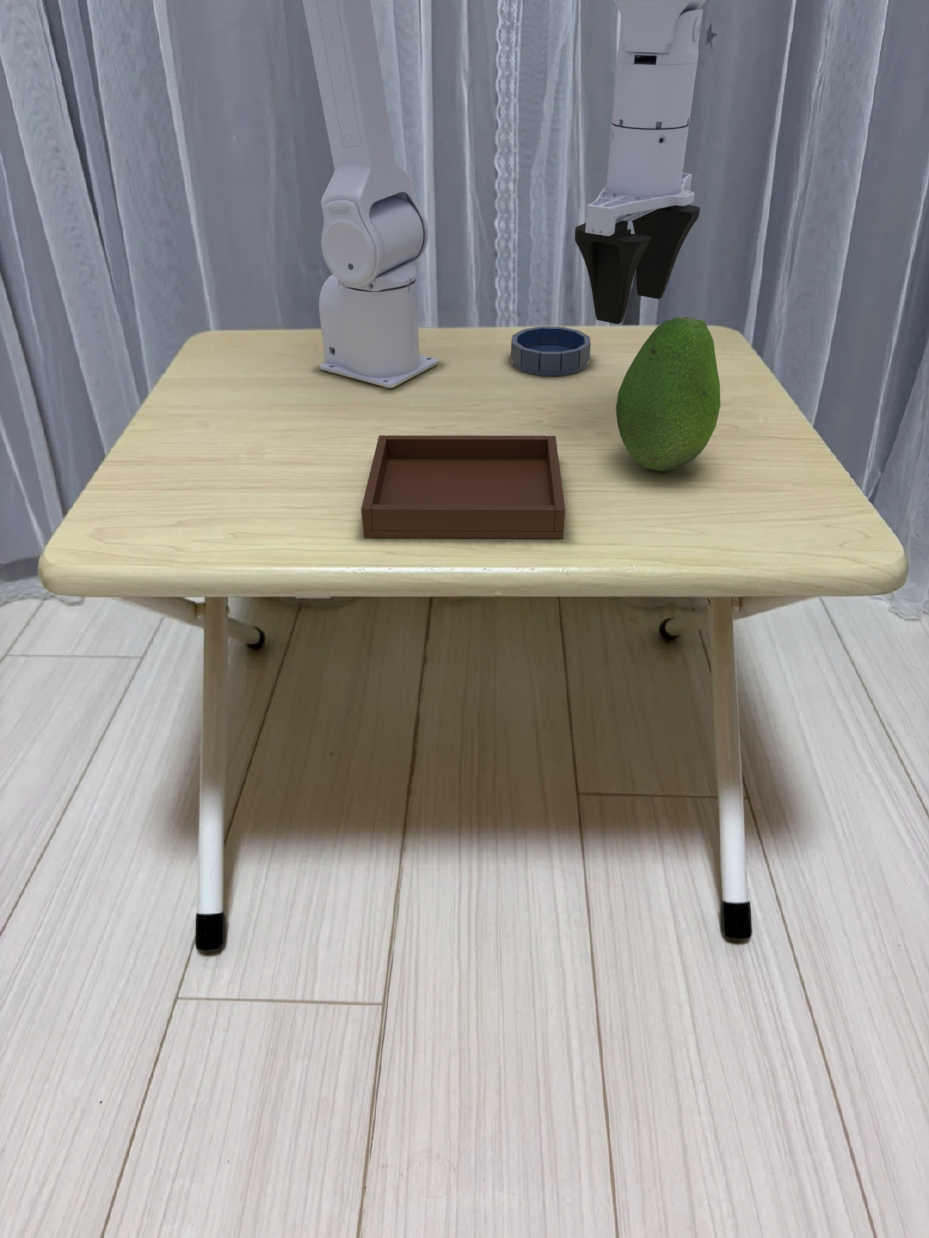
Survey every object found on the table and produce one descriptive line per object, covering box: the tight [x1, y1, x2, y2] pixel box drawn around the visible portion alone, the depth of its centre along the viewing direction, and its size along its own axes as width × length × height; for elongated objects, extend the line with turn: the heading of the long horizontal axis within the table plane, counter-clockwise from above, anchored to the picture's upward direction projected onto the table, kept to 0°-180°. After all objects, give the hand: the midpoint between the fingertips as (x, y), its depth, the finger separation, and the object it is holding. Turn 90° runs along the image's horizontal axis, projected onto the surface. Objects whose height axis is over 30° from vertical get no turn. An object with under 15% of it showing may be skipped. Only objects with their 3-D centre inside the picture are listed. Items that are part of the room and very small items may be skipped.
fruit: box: [615, 316, 721, 473], centre depth 67 cm, size 8×8×12 cm
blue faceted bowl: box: [510, 325, 592, 377], centre depth 89 cm, size 8×8×2 cm
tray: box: [360, 434, 566, 540], centre depth 66 cm, size 14×12×2 cm
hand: (630, 308), depth 73 cm, fingers open, 7 cm apart
